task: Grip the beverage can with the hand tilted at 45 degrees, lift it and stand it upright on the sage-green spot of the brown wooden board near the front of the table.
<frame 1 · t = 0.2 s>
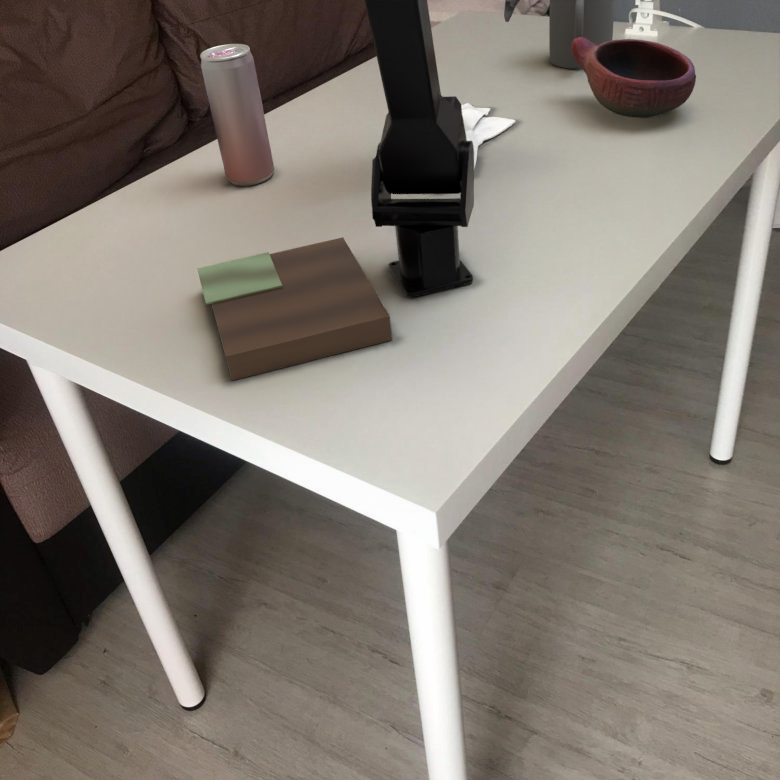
hand: (466, 20, 97), 15 cm above the table, tool tilted 35°, fingers open, 9 cm apart
cloth: (443, 147, 108), on the table
beverage can: (251, 178, 106), on the table
bowl: (625, 114, 110), on the table
brown wooden board: (294, 314, 79), on the table
mug: (579, 65, 128), on the table
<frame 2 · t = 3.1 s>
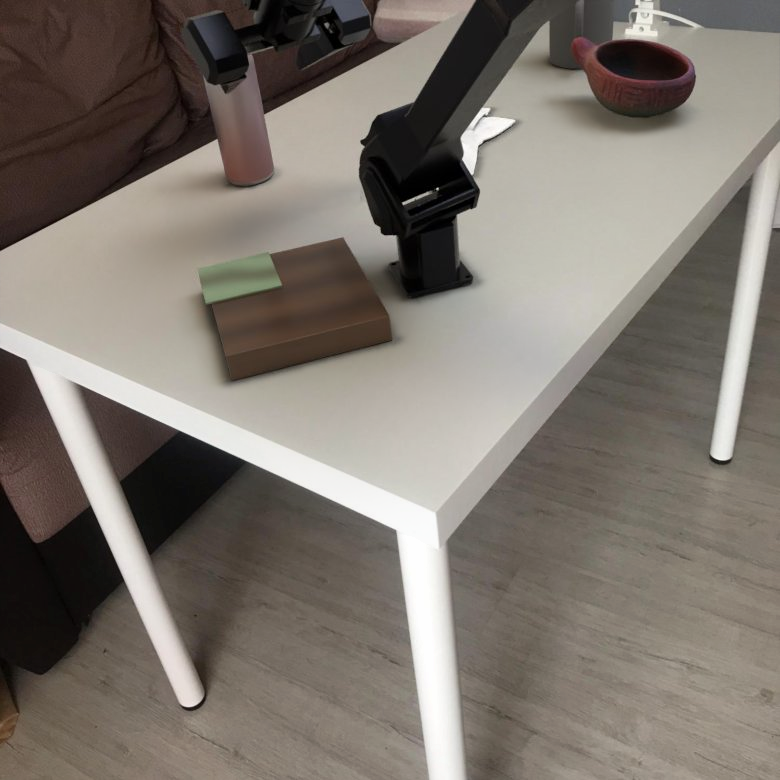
hand: (262, 78, 93), 14 cm above the table, tool tilted 45°, fingers open, 9 cm apart
nothing on the table moved.
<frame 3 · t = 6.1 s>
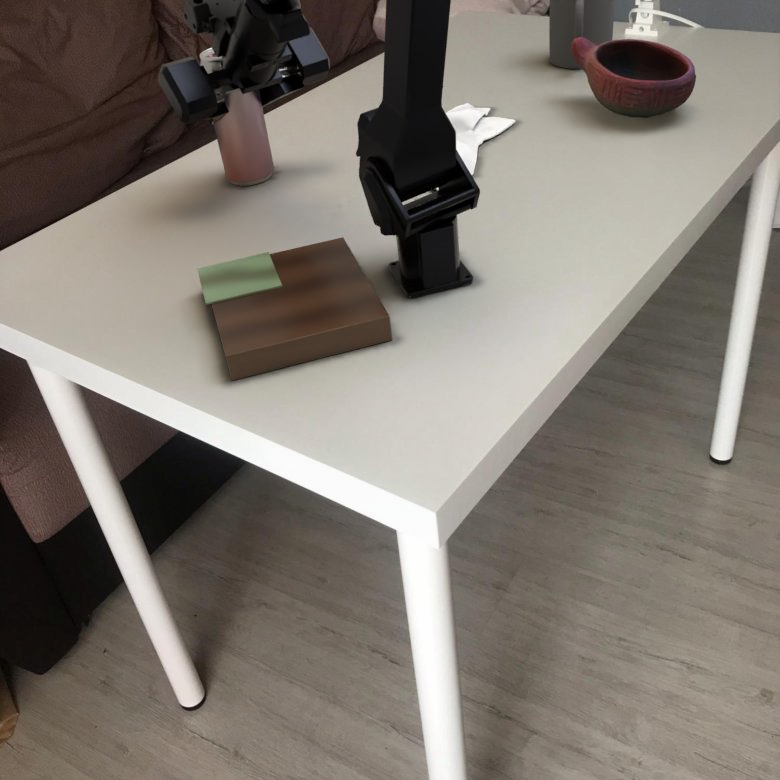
hand: (233, 113, 102), 8 cm above the table, tool tilted 45°, fingers closed on beverage can, 6 cm apart
beverage can: (251, 178, 106), on the table, touching gripper
everything else where it was.
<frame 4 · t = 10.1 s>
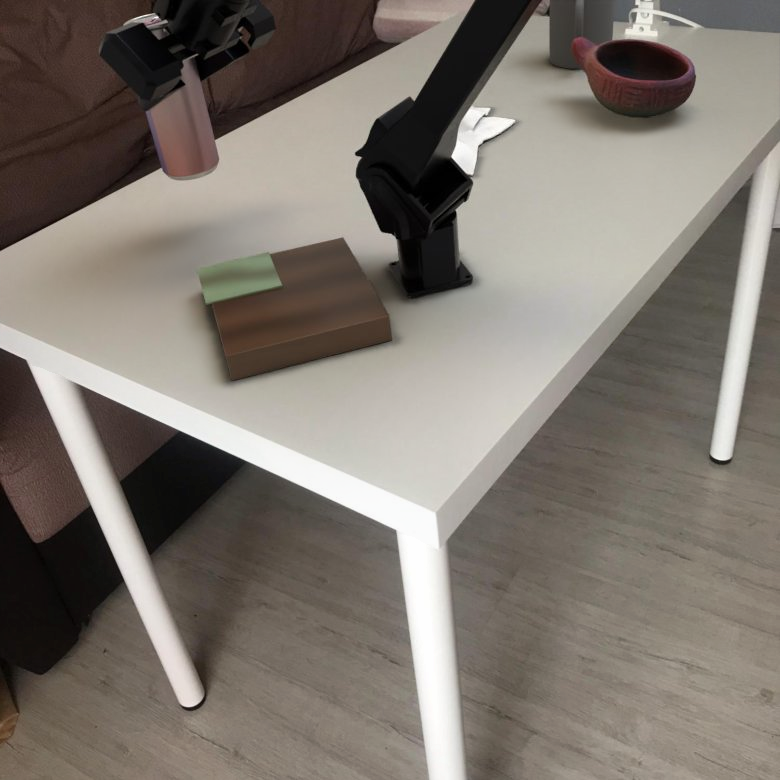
hand: (164, 96, 87), 15 cm above the table, tool tilted 45°, fingers closed on beverage can, 6 cm apart
beverage can: (193, 172, 91), point 7 cm above the table, touching gripper
everything else where it was.
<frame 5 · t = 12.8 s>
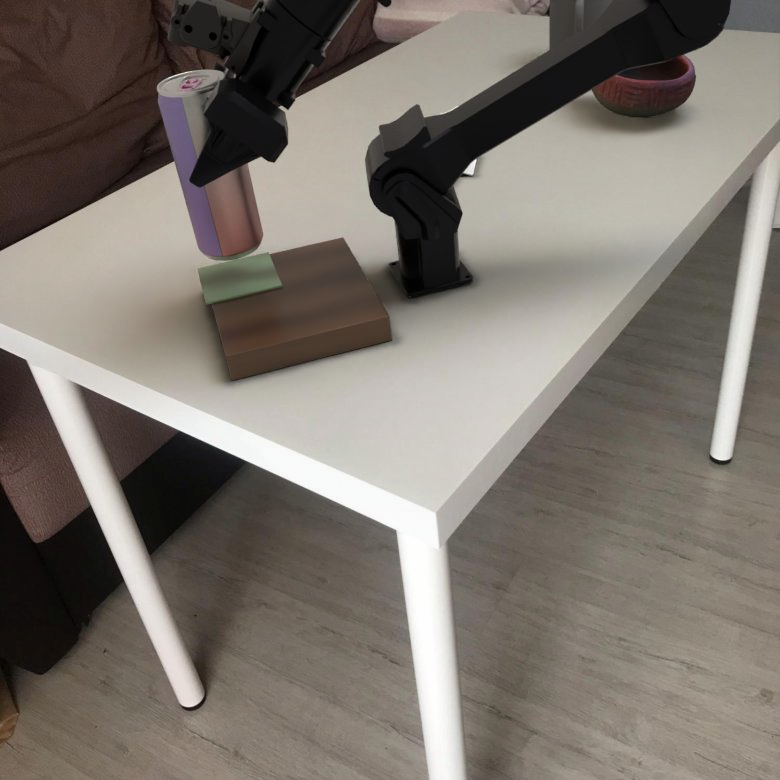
hand: (197, 169, 74), 13 cm above the table, tool tilted 45°, fingers closed on beverage can, 6 cm apart
beverage can: (232, 248, 79), point 6 cm above the table, touching gripper
everything else where it was.
when the fingers open (10 cm above the table, at t = 14.5 s): beverage can stays where it is, resting on brown wooden board.
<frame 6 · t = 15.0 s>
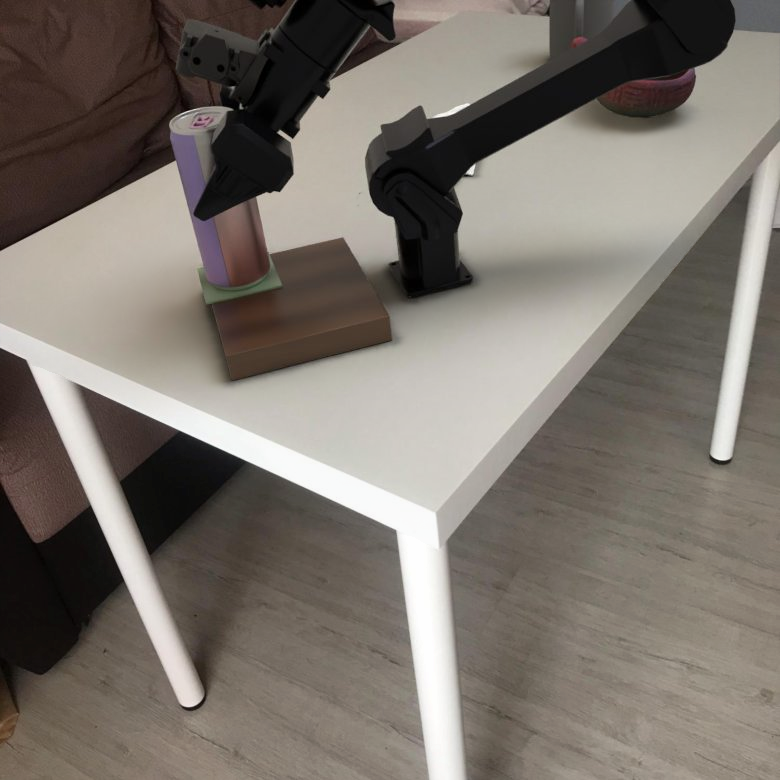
hand: (202, 194, 75), 11 cm above the table, tool tilted 45°, fingers open, 9 cm apart
beverage can: (240, 278, 80), point 3 cm above the table, touching brown wooden board
everything else where it was.
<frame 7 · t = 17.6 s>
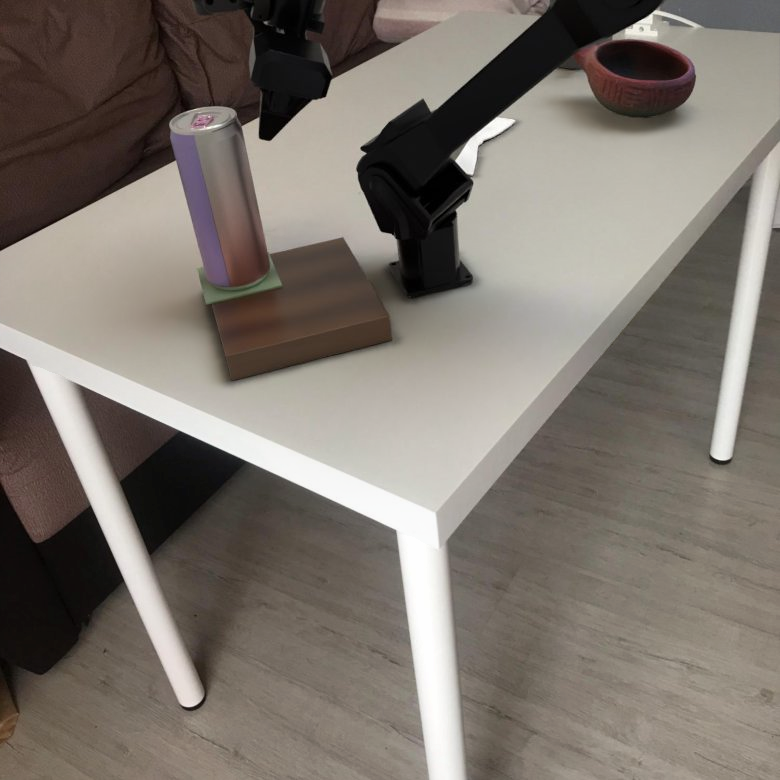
hand: (261, 111, 79), 15 cm above the table, tool tilted 25°, fingers open, 9 cm apart
nothing on the table moved.
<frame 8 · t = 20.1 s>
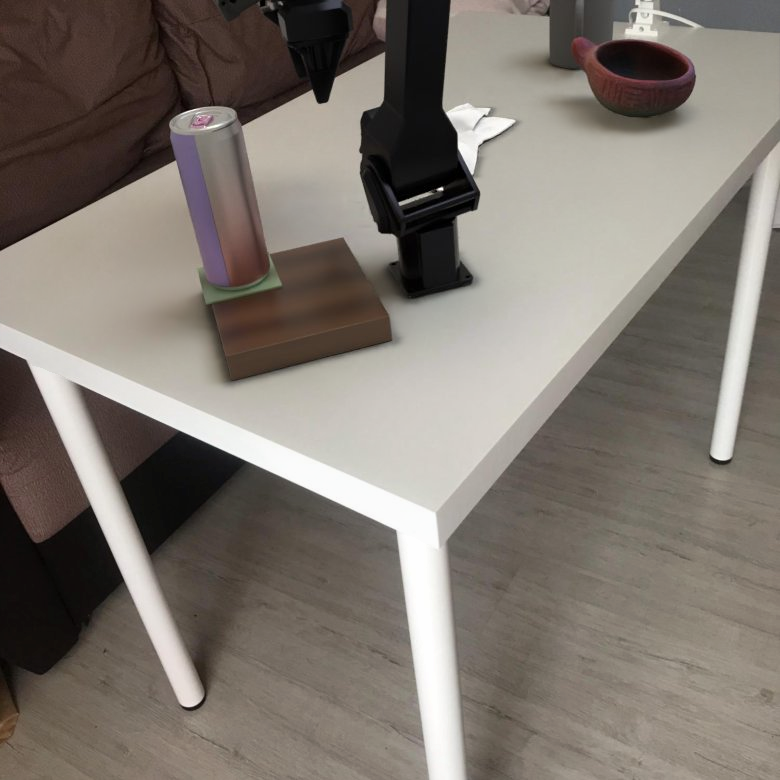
hand: (312, 89, 89), 13 cm above the table, tool pointing down, fingers open, 9 cm apart
nothing on the table moved.
at the end: beverage can 0.2 cm from the target spot on the brown wooden board, point 2.5 cm above the brown wooden board's base; beverage can tilted 0°; the gripper is holding nothing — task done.
